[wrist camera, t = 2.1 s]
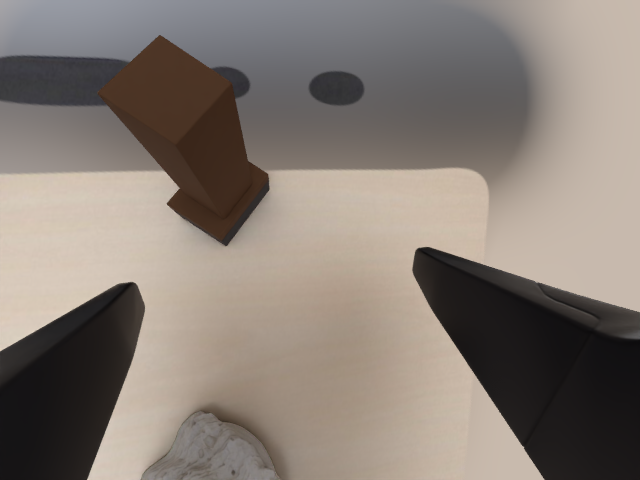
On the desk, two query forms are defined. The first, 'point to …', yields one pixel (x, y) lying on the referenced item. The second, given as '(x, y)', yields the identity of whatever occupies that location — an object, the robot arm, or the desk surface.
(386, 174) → the desk surface
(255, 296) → the desk surface
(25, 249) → the desk surface
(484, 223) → the desk surface
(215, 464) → the stone
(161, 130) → the stamp
